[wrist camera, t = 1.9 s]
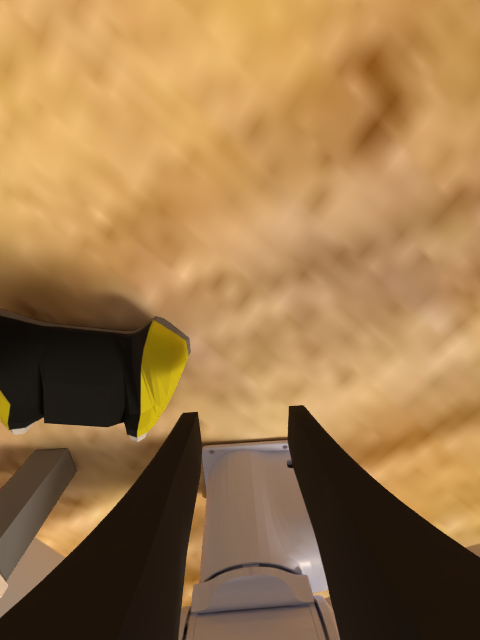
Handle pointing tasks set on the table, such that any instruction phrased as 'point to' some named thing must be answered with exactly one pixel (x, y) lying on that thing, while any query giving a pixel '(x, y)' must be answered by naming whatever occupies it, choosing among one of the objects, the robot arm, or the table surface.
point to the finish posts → (30, 503)
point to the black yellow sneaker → (87, 373)
